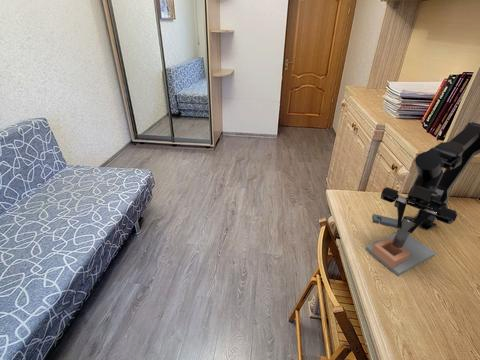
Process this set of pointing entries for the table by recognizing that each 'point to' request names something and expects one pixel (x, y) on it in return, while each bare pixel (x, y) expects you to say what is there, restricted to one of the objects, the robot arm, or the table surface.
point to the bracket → (385, 220)
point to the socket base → (400, 253)
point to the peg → (403, 231)
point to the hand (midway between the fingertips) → (404, 230)
